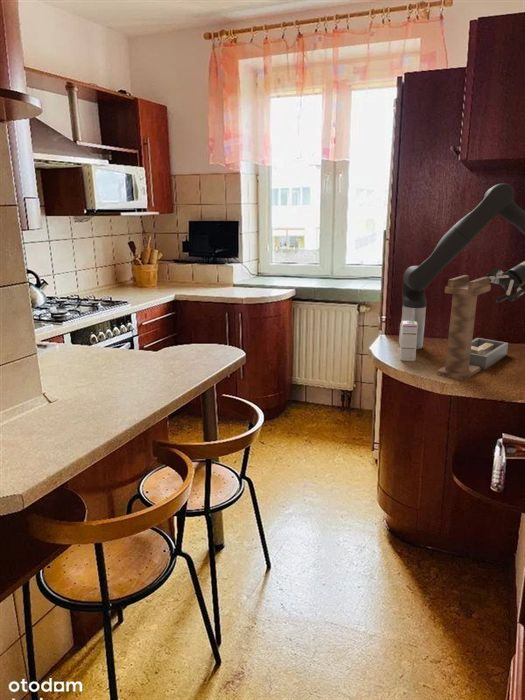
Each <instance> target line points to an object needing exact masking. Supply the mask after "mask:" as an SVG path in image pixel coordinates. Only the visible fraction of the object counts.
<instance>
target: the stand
mask: <svg viewBox="0 0 525 700" xmlns="http://www.w3.org/2000/svg"><path fill="white" fill-rule="evenodd" d="M469 280H470V275H467V274H463V275H460V276H457V277H453V278H450V279H448V282H447V286H444V293H445V294H452V299H451V310H450V318H449V319H450V320H449V327H448V337H447V338H448V339H447V340H448V341H447V347H446V358H445V365H444V366H442V367H441V368H439V369H437V370H436V375H437V374H440V375H439V376H441V375H444V376H443V377H446V376H449V377H448V378H450V377H452V379H455V378H457V379H456V380H459V379H461V380H460V381H463V380H466V381H468V380H469V379H470V378H472V377H473V376H474V374H475V375H476V374H477V372H478V373H479V372H481V370H482V369H481V367H479V366H474V365H470V364H469V363H470V355H471V346H472V340H473V335H474V328H475V320H476V319H475V318H476V312H477V311H476V309H477V300H478V296H480V295H482V294H485V293H487V292H490V291H491V289H492V287H491V286H492V285H491V284H490V283H489V277H486V276H483V277H479V278H476V279H474V280H470V281H469ZM471 376H472V377H471ZM468 378H469V379H468Z"/></svg>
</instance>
